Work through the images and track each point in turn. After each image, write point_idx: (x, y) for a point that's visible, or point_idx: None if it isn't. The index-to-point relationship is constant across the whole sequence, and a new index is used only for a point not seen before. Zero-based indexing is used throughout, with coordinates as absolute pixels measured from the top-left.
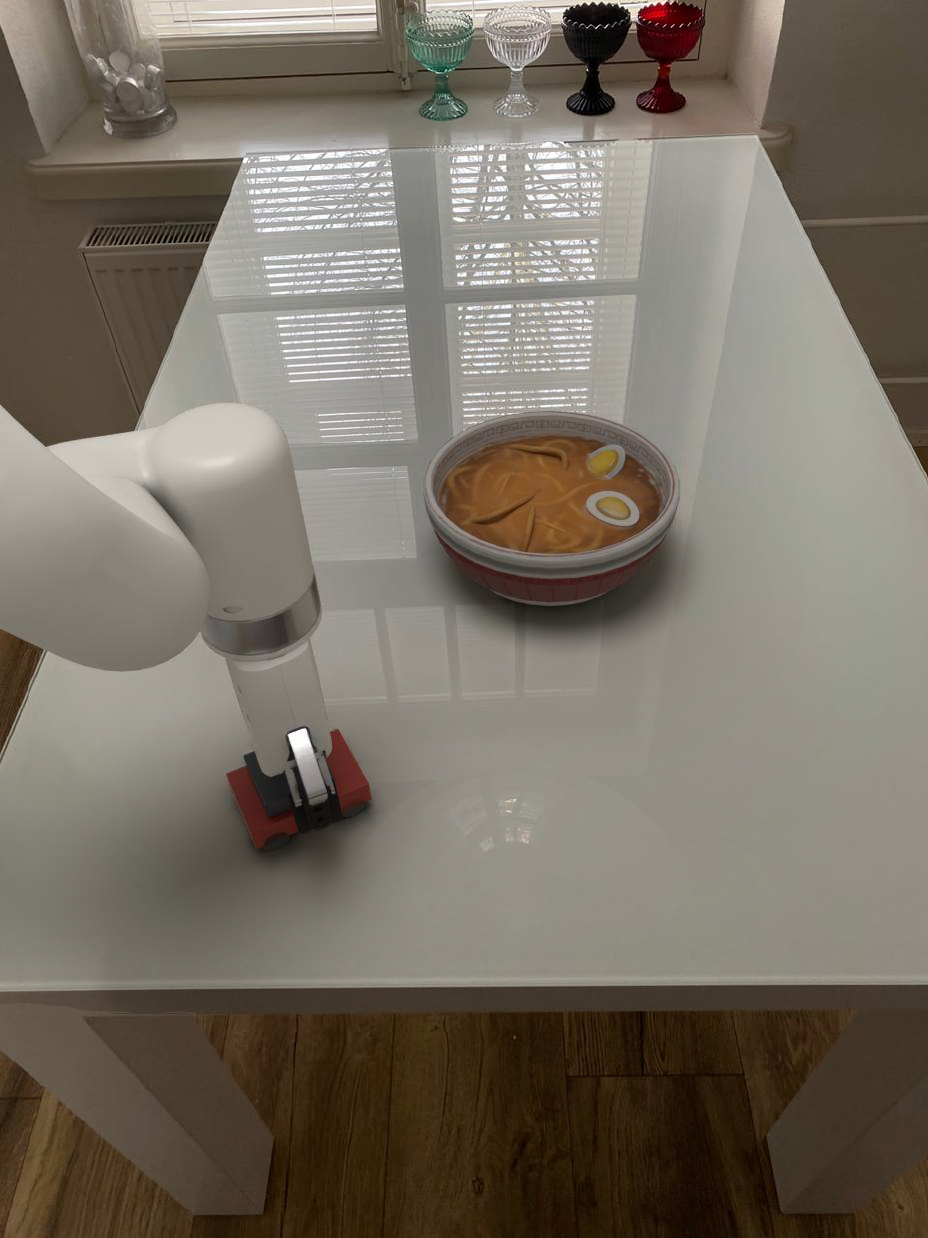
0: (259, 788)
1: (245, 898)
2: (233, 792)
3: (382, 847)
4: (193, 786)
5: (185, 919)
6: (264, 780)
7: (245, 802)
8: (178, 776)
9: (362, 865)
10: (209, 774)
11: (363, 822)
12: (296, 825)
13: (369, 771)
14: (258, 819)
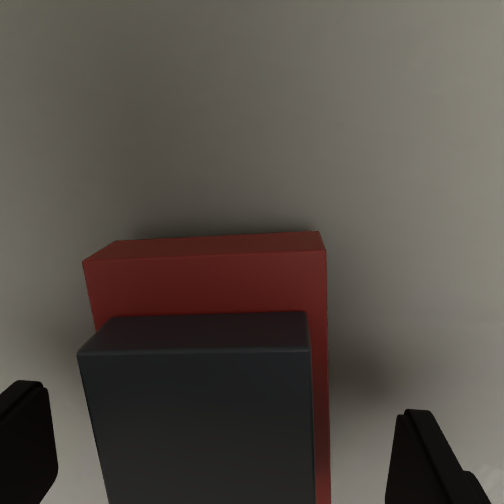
0: (146, 355)
1: (37, 178)
2: (252, 250)
3: (75, 442)
4: (406, 134)
5: (19, 29)
6: (172, 378)
7: (192, 274)
8: (465, 100)
9: None
10: (423, 183)
11: None
12: (28, 386)
13: None
14: (121, 291)
